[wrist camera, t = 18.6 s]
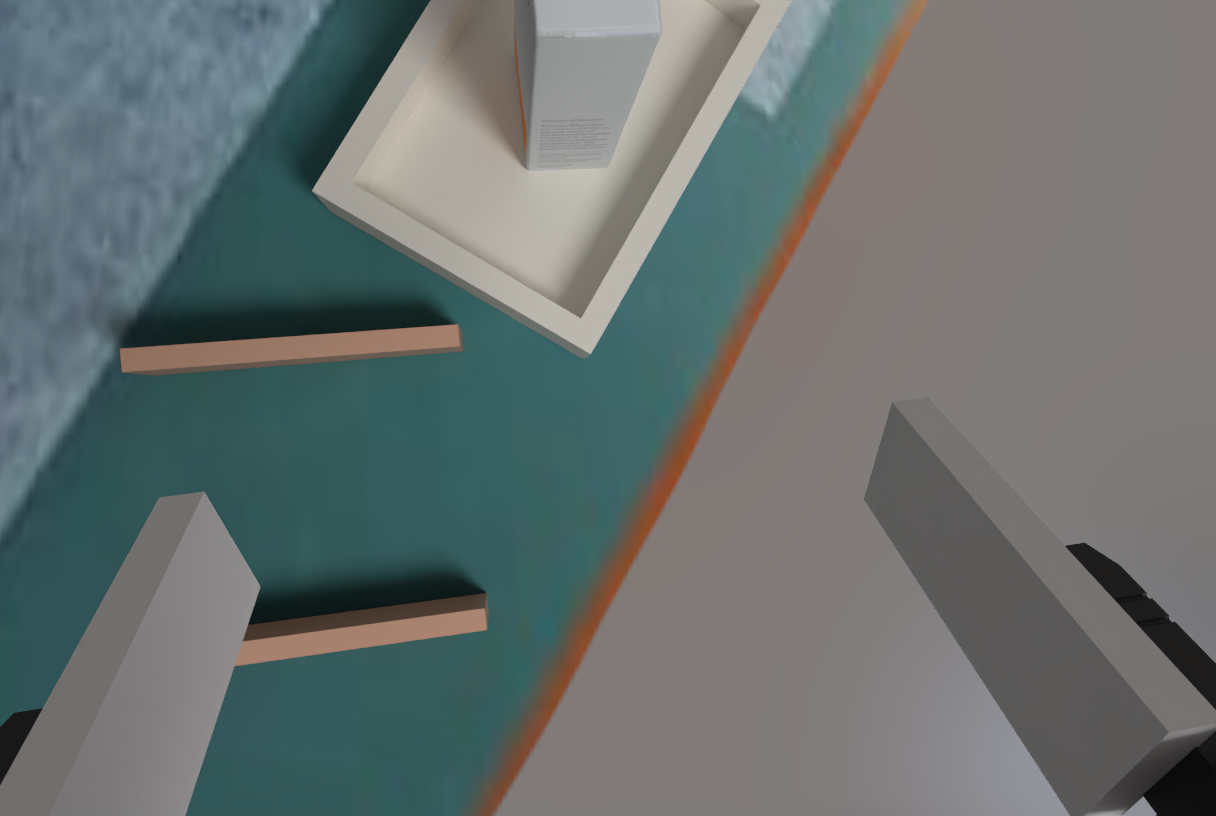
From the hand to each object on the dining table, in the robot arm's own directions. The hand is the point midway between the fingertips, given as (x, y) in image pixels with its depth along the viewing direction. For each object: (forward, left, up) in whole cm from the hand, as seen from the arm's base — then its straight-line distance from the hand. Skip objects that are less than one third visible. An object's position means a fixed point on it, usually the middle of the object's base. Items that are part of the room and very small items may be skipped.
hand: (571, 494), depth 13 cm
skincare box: (-11, +12, -19) cm, 25 cm away
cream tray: (-11, +13, -20) cm, 26 cm away
